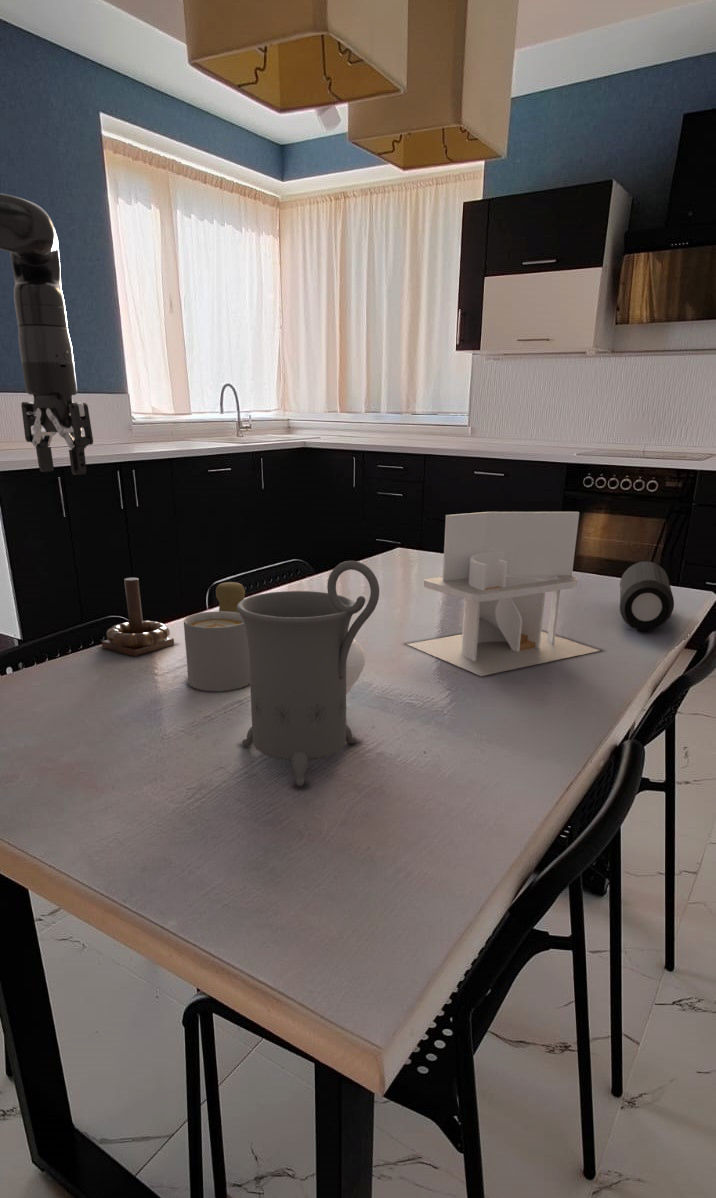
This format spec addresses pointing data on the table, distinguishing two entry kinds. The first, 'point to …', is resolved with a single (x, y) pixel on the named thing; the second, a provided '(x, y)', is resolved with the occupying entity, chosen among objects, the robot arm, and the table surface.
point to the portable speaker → (645, 596)
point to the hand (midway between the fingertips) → (62, 472)
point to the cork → (229, 596)
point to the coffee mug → (217, 651)
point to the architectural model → (506, 588)
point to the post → (135, 622)
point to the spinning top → (354, 664)
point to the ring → (138, 635)
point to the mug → (302, 668)
